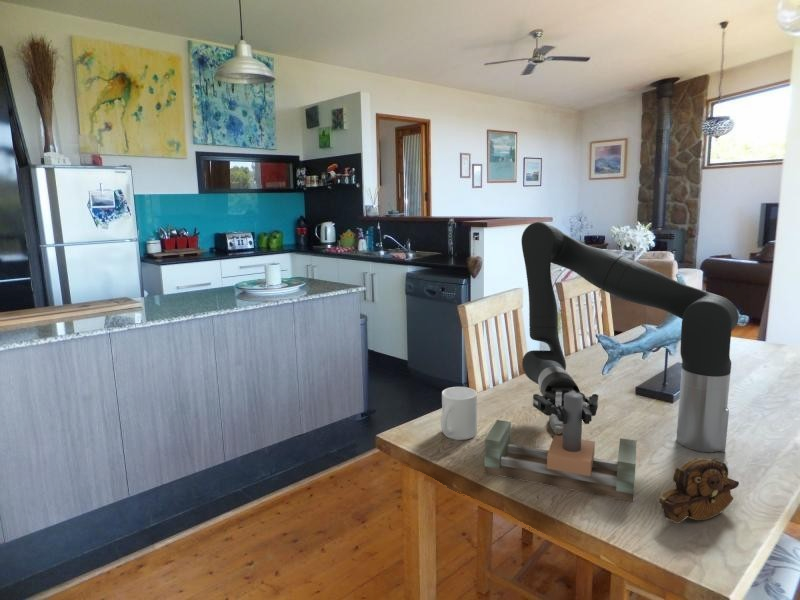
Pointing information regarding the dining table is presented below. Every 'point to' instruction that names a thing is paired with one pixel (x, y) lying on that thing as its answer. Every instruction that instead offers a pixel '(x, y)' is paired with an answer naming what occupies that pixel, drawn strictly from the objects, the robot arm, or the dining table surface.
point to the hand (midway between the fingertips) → (576, 419)
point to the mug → (459, 413)
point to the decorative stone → (556, 424)
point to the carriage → (572, 441)
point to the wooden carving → (698, 491)
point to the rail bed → (533, 468)
